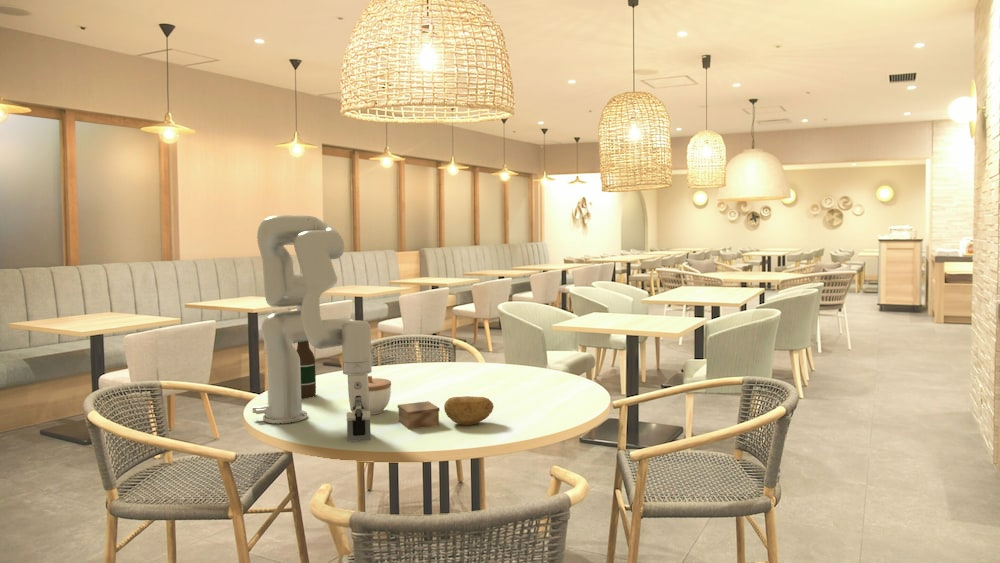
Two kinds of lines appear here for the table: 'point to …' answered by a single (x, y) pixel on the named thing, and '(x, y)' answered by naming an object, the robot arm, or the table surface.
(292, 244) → the robot arm
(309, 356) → the beer bottle
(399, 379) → the table surface
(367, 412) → the beige cube
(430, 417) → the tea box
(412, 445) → the table surface
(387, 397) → the lidded bowl
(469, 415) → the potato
